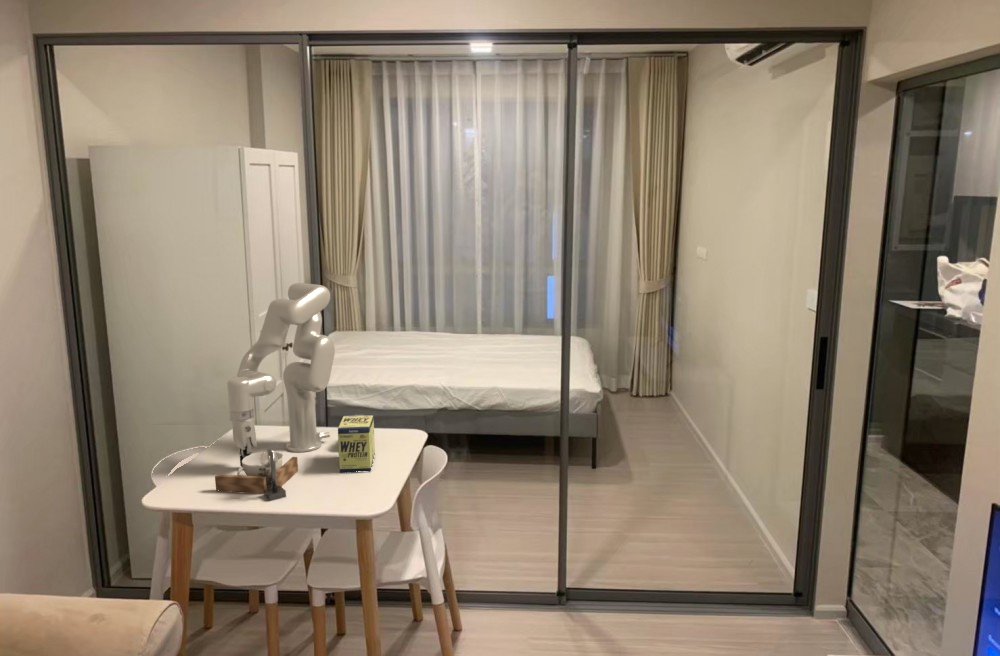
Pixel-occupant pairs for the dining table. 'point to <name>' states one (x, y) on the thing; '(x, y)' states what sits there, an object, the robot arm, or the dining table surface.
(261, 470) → the teacup
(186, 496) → the dining table surface
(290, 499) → the dining table surface
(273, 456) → the dial stand
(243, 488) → the v block
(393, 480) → the dining table surface
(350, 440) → the protein box
